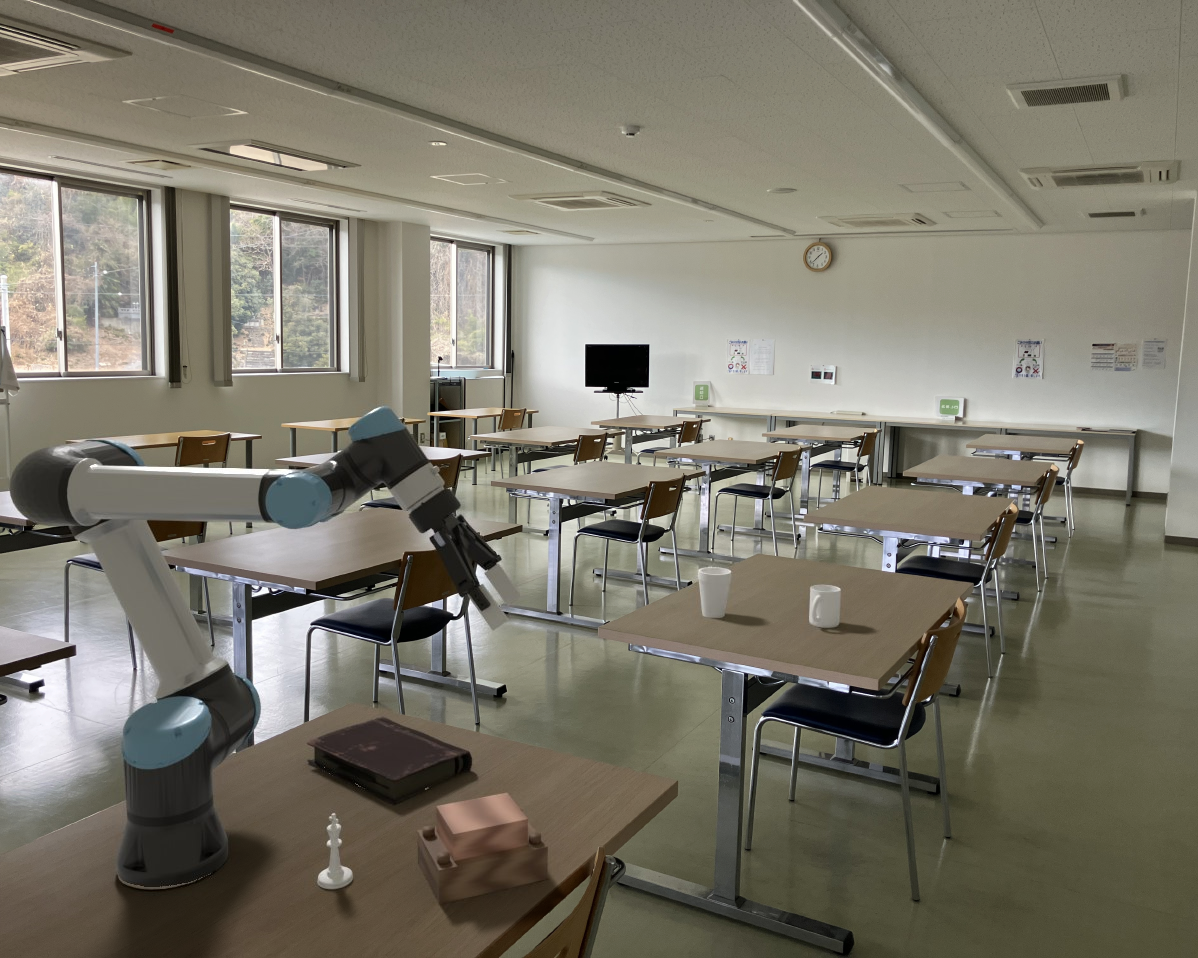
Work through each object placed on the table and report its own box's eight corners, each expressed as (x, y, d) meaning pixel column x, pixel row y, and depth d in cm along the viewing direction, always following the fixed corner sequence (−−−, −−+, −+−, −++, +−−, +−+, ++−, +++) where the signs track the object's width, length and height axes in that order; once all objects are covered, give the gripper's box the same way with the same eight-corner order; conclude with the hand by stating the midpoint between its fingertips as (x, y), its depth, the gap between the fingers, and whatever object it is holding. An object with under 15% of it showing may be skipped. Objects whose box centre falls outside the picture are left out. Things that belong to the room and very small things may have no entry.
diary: (385, 737, 190) (385, 713, 189) (472, 774, 174) (472, 747, 174) (303, 767, 176) (302, 740, 175) (390, 810, 160) (389, 781, 159)
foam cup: (695, 618, 274) (697, 573, 272) (698, 609, 283) (699, 566, 281) (729, 620, 272) (731, 575, 270) (730, 611, 281) (732, 568, 279)
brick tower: (439, 904, 132) (438, 842, 131) (417, 861, 143) (416, 804, 142) (547, 878, 139) (547, 820, 138) (519, 839, 150) (519, 785, 149)
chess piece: (339, 866, 142) (337, 802, 140) (360, 878, 139) (358, 813, 137) (310, 880, 138) (308, 814, 137) (331, 893, 135) (329, 826, 133)
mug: (825, 633, 261) (827, 596, 260) (797, 627, 266) (799, 591, 265) (844, 623, 270) (845, 587, 269) (816, 618, 275) (818, 583, 274)
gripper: (426, 498, 133) (515, 621, 134) (463, 475, 157) (538, 579, 159) (383, 528, 134) (472, 650, 135) (427, 500, 158) (501, 604, 160)
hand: (508, 612), depth 147 cm, fingers open, 13 cm apart
